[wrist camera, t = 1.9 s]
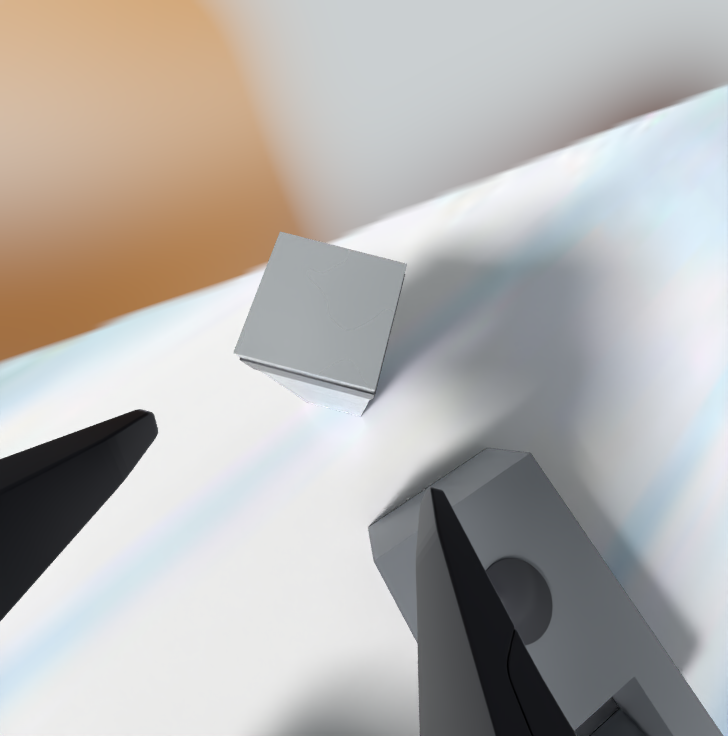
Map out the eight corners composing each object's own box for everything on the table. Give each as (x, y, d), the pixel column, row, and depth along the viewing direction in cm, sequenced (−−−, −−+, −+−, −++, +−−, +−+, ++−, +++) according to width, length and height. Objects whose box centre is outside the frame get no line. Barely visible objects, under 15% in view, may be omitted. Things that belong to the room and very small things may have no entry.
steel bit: (360, 417, 20) (376, 392, 8) (306, 403, 20) (230, 354, 8) (374, 364, 21) (408, 263, 8) (322, 351, 21) (279, 229, 9)
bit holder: (533, 834, 15) (621, 1027, 10) (368, 527, 19) (374, 562, 14) (660, 712, 17) (789, 830, 12) (486, 447, 20) (532, 452, 15)
